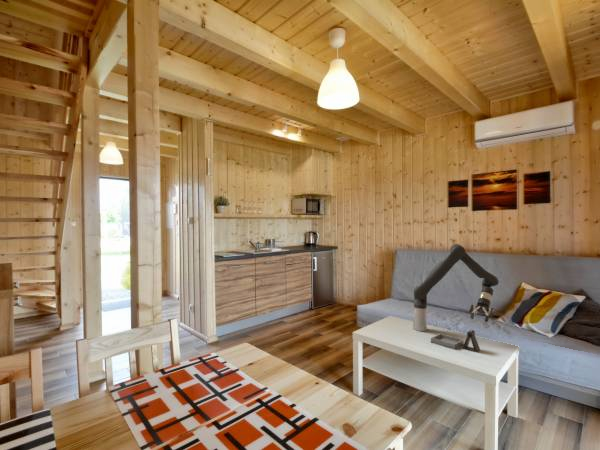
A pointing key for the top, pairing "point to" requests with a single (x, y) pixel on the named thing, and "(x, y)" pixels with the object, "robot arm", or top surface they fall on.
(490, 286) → the robot arm
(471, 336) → the phone stand
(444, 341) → the tray
